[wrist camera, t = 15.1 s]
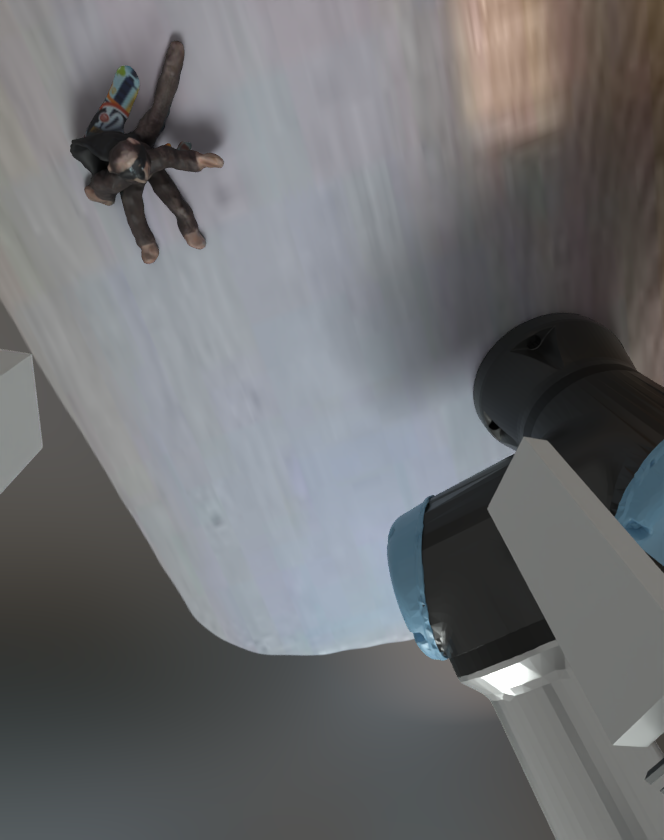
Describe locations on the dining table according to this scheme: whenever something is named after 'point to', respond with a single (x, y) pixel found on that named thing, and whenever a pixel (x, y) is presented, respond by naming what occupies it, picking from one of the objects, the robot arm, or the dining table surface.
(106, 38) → the dining table surface
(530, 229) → the dining table surface
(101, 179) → the stuffed animal
